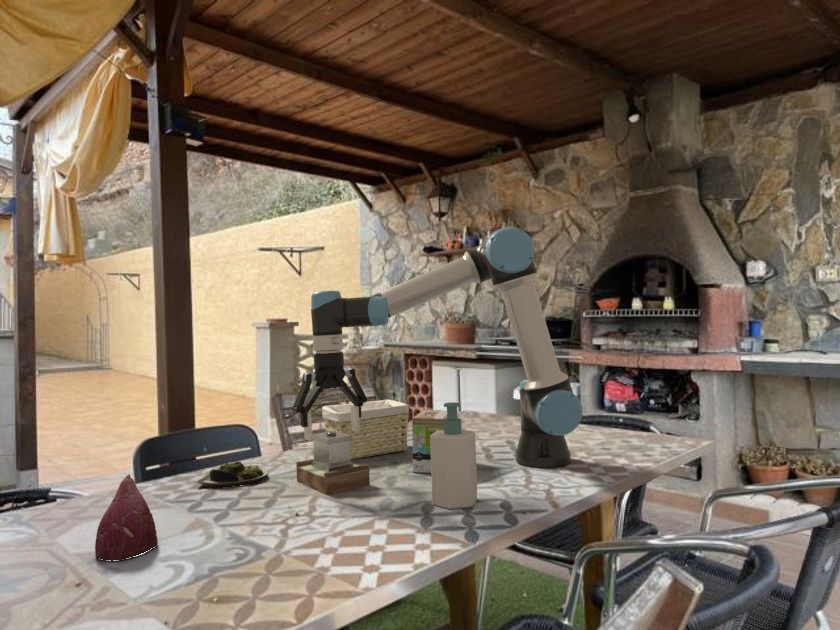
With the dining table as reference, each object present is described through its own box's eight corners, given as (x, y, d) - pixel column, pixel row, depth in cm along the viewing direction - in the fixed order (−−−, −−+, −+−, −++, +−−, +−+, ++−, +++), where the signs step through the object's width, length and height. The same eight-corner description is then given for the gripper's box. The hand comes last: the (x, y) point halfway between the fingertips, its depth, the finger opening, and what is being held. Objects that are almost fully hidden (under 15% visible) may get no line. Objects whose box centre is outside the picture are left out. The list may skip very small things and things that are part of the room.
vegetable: (111, 559, 115) (107, 480, 119) (166, 549, 116) (160, 470, 120) (84, 568, 105) (80, 481, 109) (144, 556, 106) (138, 470, 109)
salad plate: (197, 474, 167) (196, 457, 167) (263, 467, 173) (263, 451, 173) (196, 493, 149) (195, 474, 149) (270, 484, 155) (269, 466, 155)
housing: (335, 461, 158) (334, 428, 158) (353, 468, 151) (352, 433, 151) (311, 466, 154) (310, 432, 154) (328, 473, 146) (327, 437, 146)
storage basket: (338, 462, 174) (337, 412, 174) (321, 452, 188) (319, 405, 188) (412, 452, 185) (410, 404, 185) (390, 442, 199) (389, 398, 199)
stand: (369, 484, 149) (369, 464, 149) (326, 494, 142) (326, 473, 142) (337, 472, 162) (337, 454, 162) (296, 481, 155) (296, 462, 155)
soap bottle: (471, 494, 139) (468, 399, 139) (483, 506, 130) (480, 404, 130) (427, 498, 137) (424, 402, 137) (437, 511, 128) (434, 407, 128)
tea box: (449, 474, 158) (447, 417, 158) (412, 473, 160) (410, 417, 160) (457, 460, 172) (455, 408, 172) (423, 459, 174) (421, 408, 174)
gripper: (289, 356, 142) (294, 445, 142) (377, 348, 157) (381, 429, 157) (276, 355, 148) (280, 441, 148) (362, 348, 163) (366, 426, 163)
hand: (332, 435), depth 152 cm, fingers open, 13 cm apart
